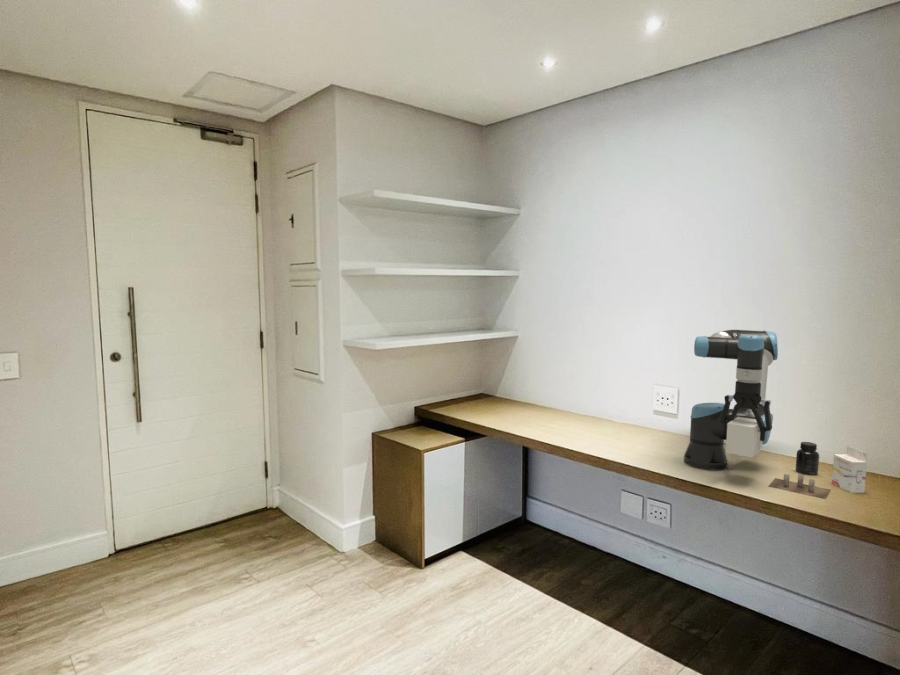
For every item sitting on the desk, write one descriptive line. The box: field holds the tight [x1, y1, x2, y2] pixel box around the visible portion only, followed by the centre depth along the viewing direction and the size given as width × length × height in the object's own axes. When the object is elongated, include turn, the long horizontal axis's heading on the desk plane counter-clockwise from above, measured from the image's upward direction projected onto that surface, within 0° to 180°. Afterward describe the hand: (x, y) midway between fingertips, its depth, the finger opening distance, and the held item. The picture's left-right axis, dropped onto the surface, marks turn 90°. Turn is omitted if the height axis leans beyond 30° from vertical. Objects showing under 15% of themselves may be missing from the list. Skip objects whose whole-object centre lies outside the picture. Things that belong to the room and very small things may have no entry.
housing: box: [725, 417, 763, 458], centre depth 186 cm, size 13×8×10 cm, turn 139°
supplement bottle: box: [795, 441, 820, 476], centre depth 196 cm, size 7×7×12 cm
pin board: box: [767, 473, 831, 500], centre depth 181 cm, size 16×11×6 cm
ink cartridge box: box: [831, 445, 868, 494], centre depth 181 cm, size 9×5×15 cm, turn 5°
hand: (744, 447), depth 187 cm, fingers closed on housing, 8 cm apart
